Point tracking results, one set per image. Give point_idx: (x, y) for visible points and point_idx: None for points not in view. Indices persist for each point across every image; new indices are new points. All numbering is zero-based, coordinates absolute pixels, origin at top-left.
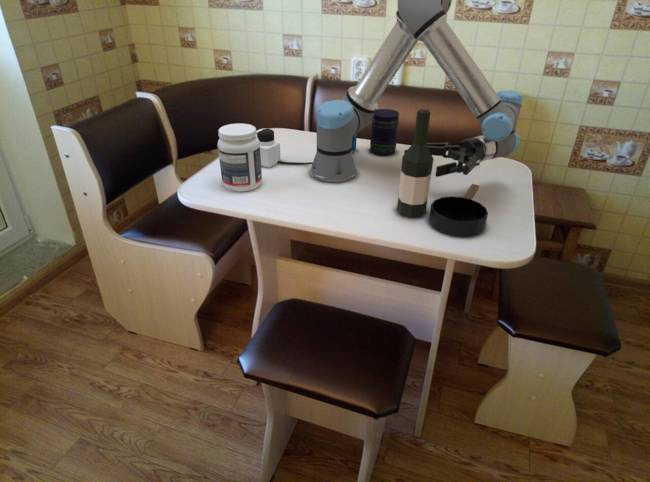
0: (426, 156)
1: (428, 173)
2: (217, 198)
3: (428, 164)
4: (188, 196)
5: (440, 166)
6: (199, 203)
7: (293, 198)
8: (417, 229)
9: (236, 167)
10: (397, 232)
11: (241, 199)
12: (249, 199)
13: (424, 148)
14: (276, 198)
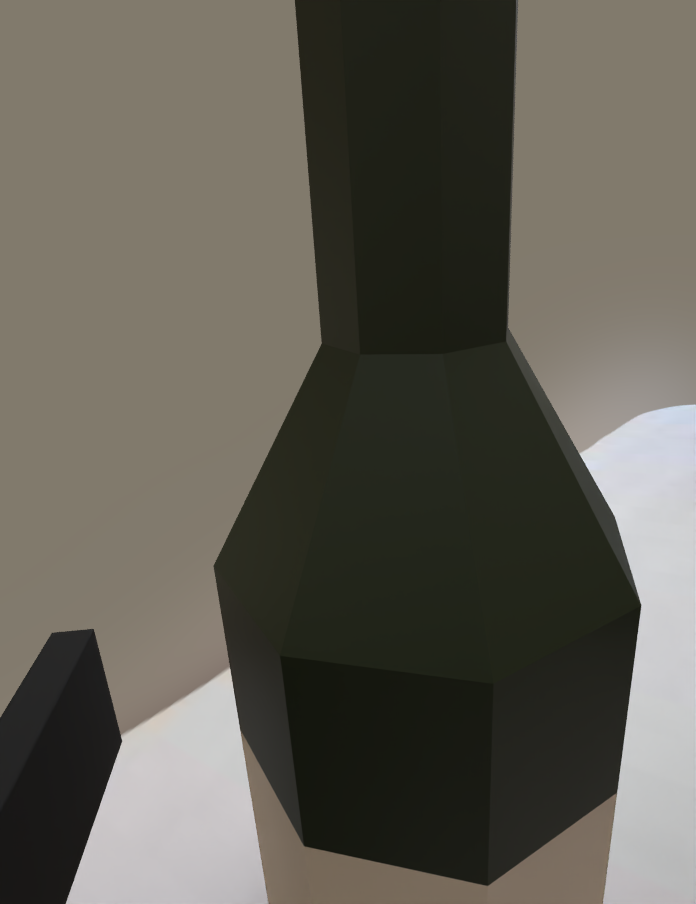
0: (252, 489)
1: (251, 731)
2: (675, 432)
3: (217, 588)
4: (685, 408)
5: (49, 664)
6: (640, 416)
7: (687, 535)
8: (165, 890)
9: None
10: (221, 758)
11: (670, 457)
12: (670, 466)
13: (301, 390)
14: (683, 505)
